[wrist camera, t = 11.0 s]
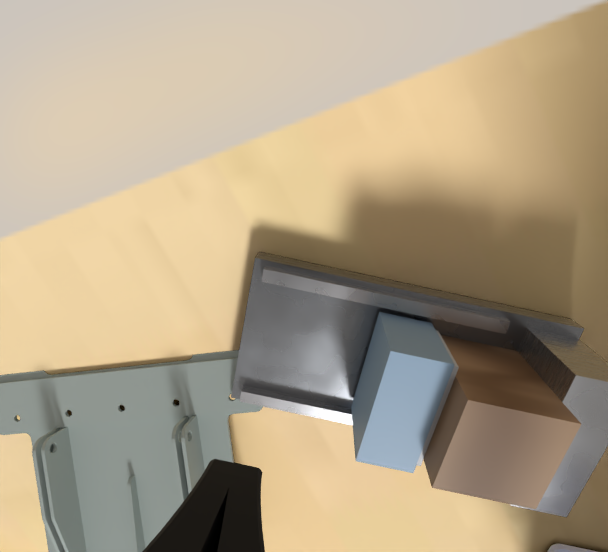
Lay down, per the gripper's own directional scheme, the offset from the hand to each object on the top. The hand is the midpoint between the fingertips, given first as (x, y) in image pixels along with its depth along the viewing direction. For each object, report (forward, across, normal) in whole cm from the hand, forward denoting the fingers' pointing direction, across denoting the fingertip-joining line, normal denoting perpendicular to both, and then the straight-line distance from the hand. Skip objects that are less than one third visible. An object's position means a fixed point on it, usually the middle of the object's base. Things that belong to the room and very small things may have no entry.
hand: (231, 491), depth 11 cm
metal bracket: (+10, +6, +10) cm, 15 cm away
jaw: (+8, -6, 0) cm, 10 cm away
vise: (+10, -6, 0) cm, 11 cm away
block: (+9, -9, 0) cm, 13 cm away
